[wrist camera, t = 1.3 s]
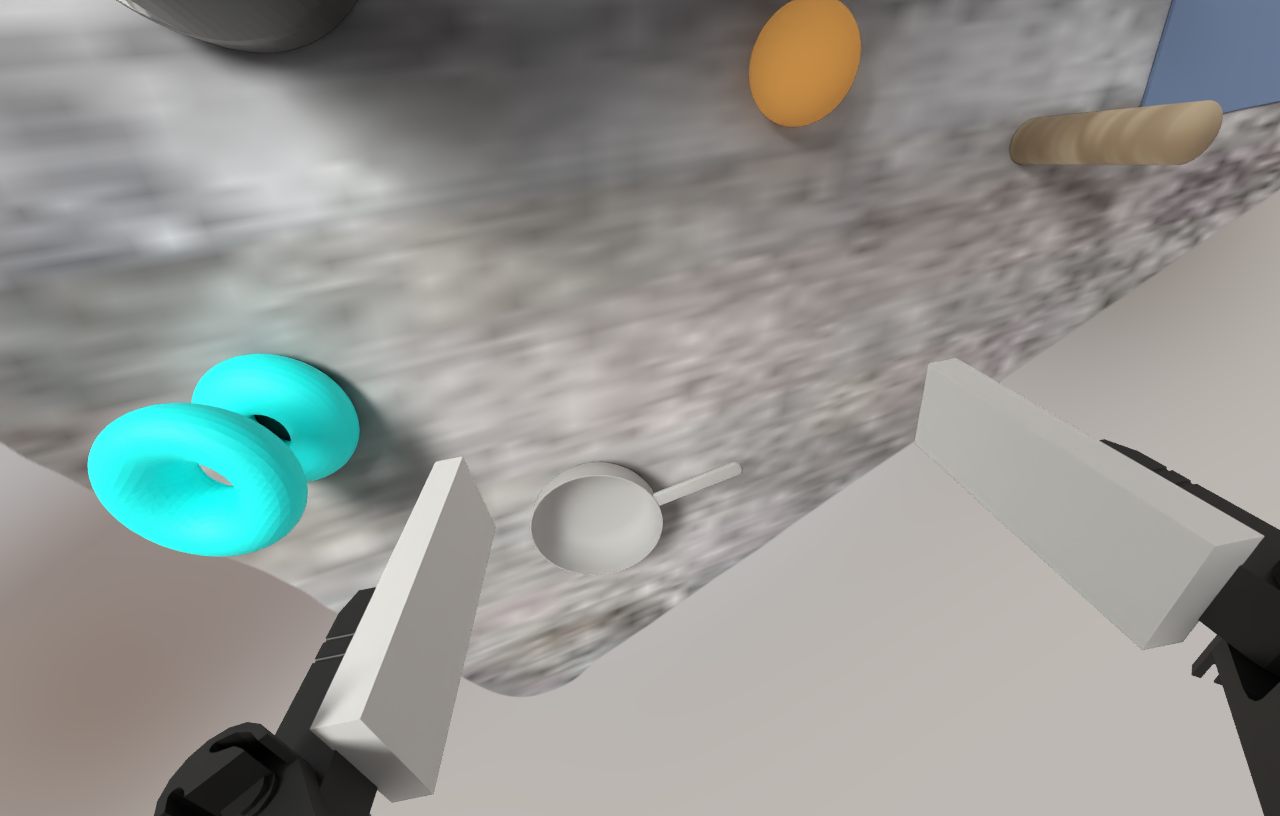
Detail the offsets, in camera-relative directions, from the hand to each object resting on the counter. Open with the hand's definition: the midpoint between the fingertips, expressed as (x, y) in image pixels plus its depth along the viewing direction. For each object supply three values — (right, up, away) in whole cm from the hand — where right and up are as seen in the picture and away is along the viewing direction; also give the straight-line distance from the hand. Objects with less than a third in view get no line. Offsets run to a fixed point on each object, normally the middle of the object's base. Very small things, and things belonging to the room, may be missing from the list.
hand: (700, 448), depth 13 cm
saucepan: (-2, -5, +27) cm, 27 cm away
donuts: (-27, +1, +20) cm, 34 cm away
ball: (+7, +19, +11) cm, 23 cm away
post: (+23, +18, +16) cm, 34 cm away
